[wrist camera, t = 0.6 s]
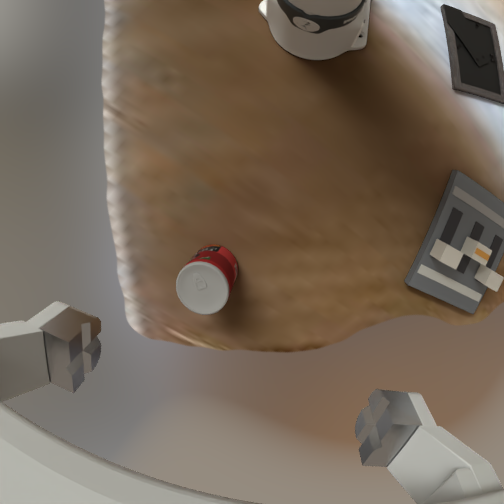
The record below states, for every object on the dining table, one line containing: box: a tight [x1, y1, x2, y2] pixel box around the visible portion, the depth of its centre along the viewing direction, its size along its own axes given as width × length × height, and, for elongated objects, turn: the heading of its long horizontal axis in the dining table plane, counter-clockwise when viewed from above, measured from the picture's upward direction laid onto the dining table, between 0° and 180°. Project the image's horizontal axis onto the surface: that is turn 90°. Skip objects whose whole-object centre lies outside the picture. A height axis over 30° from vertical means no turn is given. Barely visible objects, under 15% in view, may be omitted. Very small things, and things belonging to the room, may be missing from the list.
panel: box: [405, 170, 504, 314], centre depth 49 cm, size 22×18×2 cm
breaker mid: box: [460, 237, 492, 266], centre depth 46 cm, size 3×4×4 cm
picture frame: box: [441, 4, 504, 104], centre depth 39 cm, size 13×2×18 cm
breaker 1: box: [430, 239, 464, 269], centre depth 47 cm, size 3×4×4 cm
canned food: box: [176, 245, 238, 315], centre depth 50 cm, size 8×8×11 cm
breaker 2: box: [474, 264, 504, 292], centre depth 47 cm, size 3×4×4 cm
